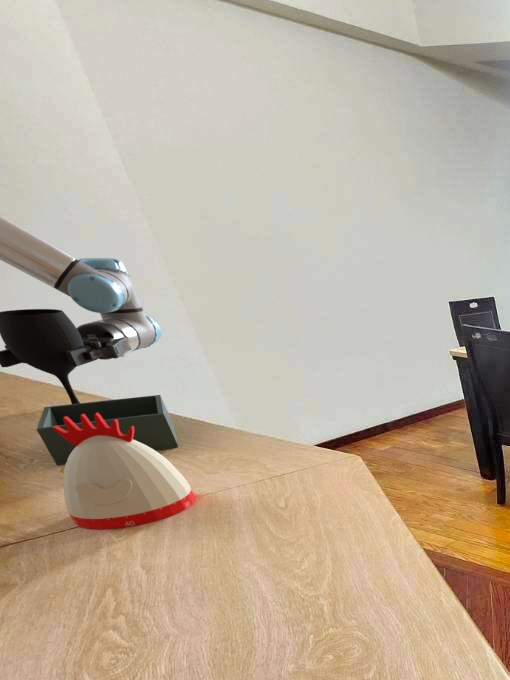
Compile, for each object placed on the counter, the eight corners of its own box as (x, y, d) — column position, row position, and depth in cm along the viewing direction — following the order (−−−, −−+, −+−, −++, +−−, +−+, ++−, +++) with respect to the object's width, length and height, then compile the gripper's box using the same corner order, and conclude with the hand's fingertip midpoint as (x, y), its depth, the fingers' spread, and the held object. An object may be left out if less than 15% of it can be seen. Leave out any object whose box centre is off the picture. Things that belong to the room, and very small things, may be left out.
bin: (62, 440, 115) (44, 406, 112) (174, 425, 125) (160, 394, 122) (56, 465, 104) (36, 429, 101) (178, 447, 114) (163, 413, 111)
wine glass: (105, 405, 128) (58, 307, 118) (124, 414, 124) (77, 312, 114) (37, 415, 120) (-19, 311, 110) (55, 425, 116) (-2, 317, 106)
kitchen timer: (95, 498, 94) (44, 405, 86) (204, 486, 99) (165, 397, 92) (57, 536, 83) (-5, 433, 76) (182, 519, 89) (136, 422, 81)
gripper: (174, 356, 136) (118, 378, 117) (50, 357, 130) (-30, 380, 111) (160, 321, 132) (100, 338, 114) (32, 321, 126) (-54, 339, 108)
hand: (36, 359), depth 113 cm, fingers closed on wine glass, 10 cm apart
